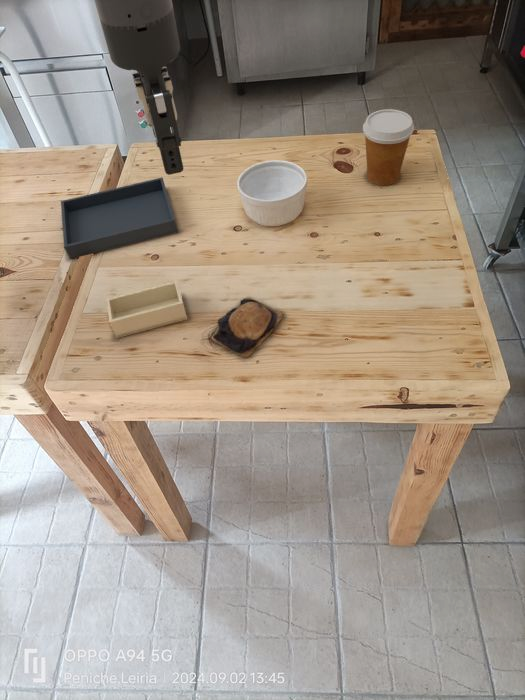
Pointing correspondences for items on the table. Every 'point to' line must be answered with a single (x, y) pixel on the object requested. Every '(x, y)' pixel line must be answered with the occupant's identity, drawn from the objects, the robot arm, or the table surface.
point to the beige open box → (146, 309)
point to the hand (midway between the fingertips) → (168, 153)
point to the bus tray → (116, 218)
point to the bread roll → (246, 327)
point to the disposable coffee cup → (386, 144)
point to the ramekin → (273, 192)
